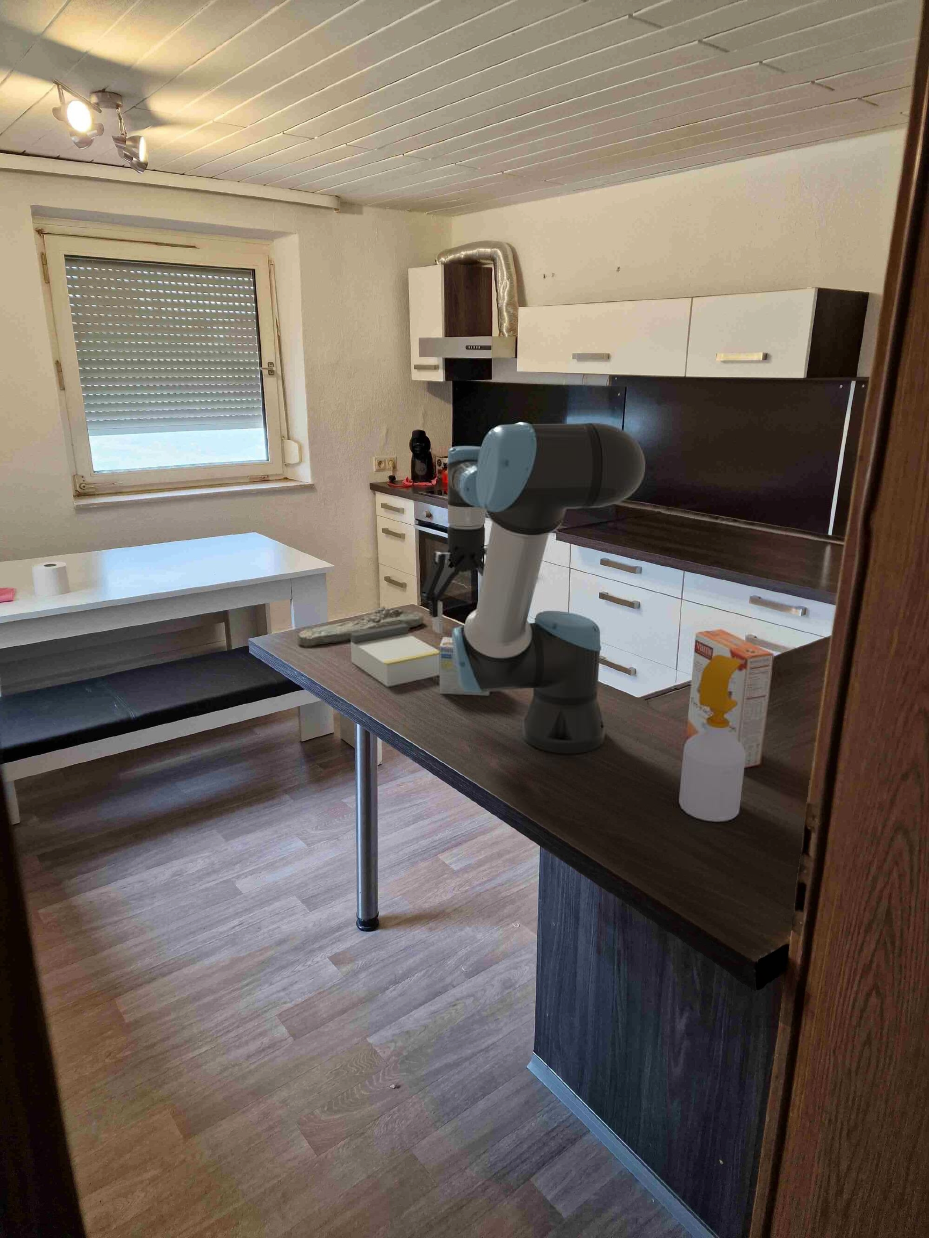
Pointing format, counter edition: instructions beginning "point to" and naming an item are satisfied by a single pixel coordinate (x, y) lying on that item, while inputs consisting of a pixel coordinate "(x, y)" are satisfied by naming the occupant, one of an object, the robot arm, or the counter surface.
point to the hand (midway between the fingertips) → (465, 626)
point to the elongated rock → (359, 626)
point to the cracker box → (734, 690)
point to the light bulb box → (450, 671)
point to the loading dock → (393, 655)
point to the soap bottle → (713, 752)
